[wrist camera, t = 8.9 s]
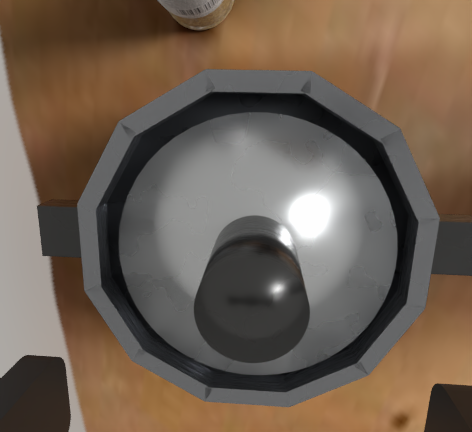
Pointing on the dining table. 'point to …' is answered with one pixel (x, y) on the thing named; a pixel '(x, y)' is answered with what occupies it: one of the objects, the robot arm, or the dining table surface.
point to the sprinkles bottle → (198, 12)
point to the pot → (234, 102)
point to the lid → (258, 243)
